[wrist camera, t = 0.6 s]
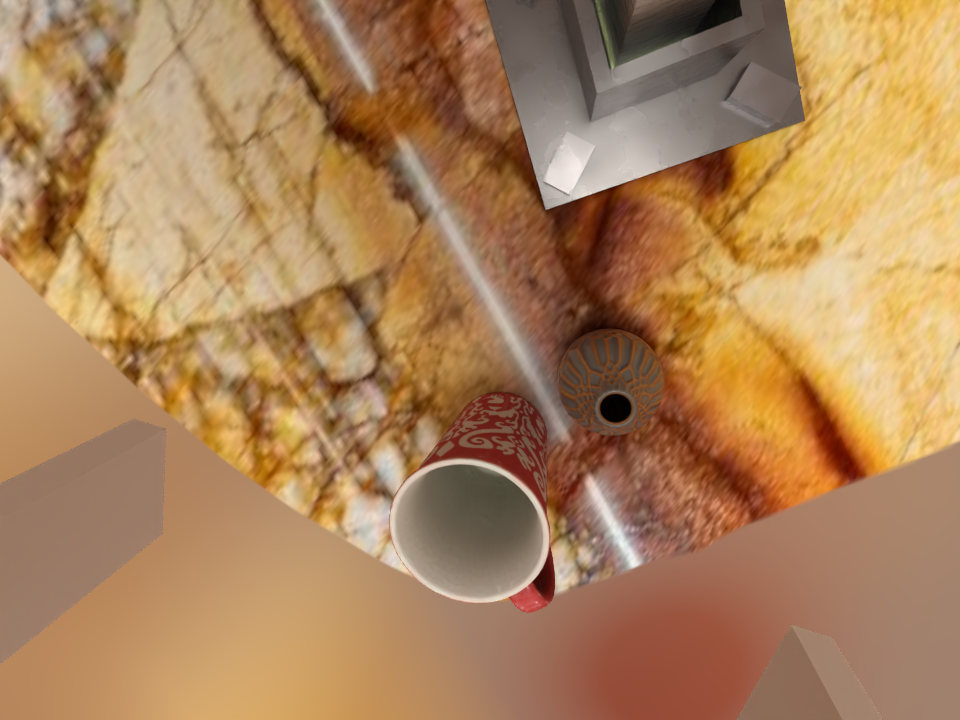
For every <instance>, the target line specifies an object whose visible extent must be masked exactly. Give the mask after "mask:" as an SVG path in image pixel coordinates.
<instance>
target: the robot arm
mask: <svg viewBox="0 0 960 720" xmlns="http://www.w3.org/2000/svg"><path fill="white" fill-rule="evenodd" d="M165 445H166V429H165V428H161V427H158V426H155V425H152V424H149V423H145V422H142V421H139V420H136V419H132V420H130V421H128V422H126V423H124V424H122V425H120V426H118V427H116V428H114V429H112V430H110V431H108V432H106V433H104V434H102V435H100V436H97V437H95V438H93V439H91V440H89V441H87V442H85V443H83V444H81V445H79V446H77V447H75V448H73V449H71V450H69V451H67V452H64V453H63V454H61V455H58V456H56V457H54V458H52V459H50V460H48V461H46V462H44V463H42V464H40V465H38V466H36V467H34V468H32V469H30V470H28V471H25V472H24V473H21V474H19V475H18V476H15V477H13V478H11V479H9V480H7V481H5V482H3V483H1V484H0V664H1V663H3V662H4V661H5V660H6V659H7V658H9V657H10V656H11V655H13V654H14V653H15V652H16V651H18V650H19V649H20V648H21V647H23V646H24V645H25V644H26V643H27V642H29V641H30V640H31V639H32V638H34V637H35V636H36V635H37V634H39V633H40V632H41V631H42V630H44V629H45V628H46V627H47V626H49V625H50V624H51V623H52V622H53V621H55V620H56V619H57V618H58V617H60V616H61V615H62V614H63V613H65V612H66V611H67V610H68V609H70V608H71V607H72V606H73V605H74V604H76V603H77V602H78V601H79V600H81V599H82V598H83V597H85V596H86V595H87V594H88V593H90V592H91V591H92V590H93V589H94V588H96V587H97V586H98V585H99V584H101V583H102V582H103V581H104V580H106V579H107V578H108V577H109V576H111V575H112V574H113V573H114V572H116V571H117V570H118V569H119V568H121V567H122V566H123V565H124V564H125V563H127V562H128V561H129V560H130V559H132V558H133V557H134V556H135V555H136V554H138V553H139V552H140V551H142V550H143V549H144V548H145V547H146V546H148V545H149V544H150V543H151V542H153V541H154V540H155V539H157V538H158V537H159V536H160V535H162V530H163V503H164V474H165ZM737 720H883V719H882V717H881V716H880V714H879V713H878V711H877V709H876V708H875V706H874V705H873V703H872V701H871V700H870V698H869V696H868V695H867V693H866V691H865V690H864V688H863V687H862V685H861V684H860V682H859V680H858V679H857V677H856V675H855V674H854V672H853V670H852V669H851V667H850V666H849V664H848V662H847V661H846V659H845V657H844V656H843V654H842V653H841V651H840V650H839V648H838V647H837V645H836V643H835V641H834V640H833V638H832V637H829V636H826V635H822V634H819V633H816V632H813V631H810V630H807V629H803V628H800V627H797V626H794V625H791V626H790V628H789V629H788V631H787V633H786V635H785V636H784V638H783V640H782V642H781V643H780V645H779V647H778V649H777V650H776V652H775V654H774V655H773V657H772V659H771V661H770V662H769V664H768V666H767V668H766V669H765V671H764V673H763V674H762V676H761V678H760V680H759V681H758V683H757V685H756V687H755V688H754V690H753V692H752V694H751V695H750V697H749V699H748V700H747V702H746V704H745V706H744V707H743V709H742V711H741V713H740V714H739V716H738V718H737Z"/></svg>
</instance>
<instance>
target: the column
mask: <svg viewBox="0 0 960 720" xmlns="http://www.w3.org/2000/svg"><path fill="white" fill-rule="evenodd" d="M714 2H715V0H593V6H594V10H595V14H596V18H597V22H598V26H599V30H600V34H601V38H602V42H603V46H604V50H605V54H606V58H607V62H608V66H609V70H610V69H612V68H615V67H617V66H619V65H622V64H624V63H627V62H629V61H632V60H634V59H637V58H639V57H642V56H644V55H647V54H649V53H652V52H654V51H657V50H659V49H662V48H664V47H667V46H669V45H672V44H674V43H677V42H679V41H682V40H684V39H686V38H689V37H691V36H692V34H693V33H694V31H695V30H696V28H697V27H698V25H699V24H700V22H701V21H702V19H703V18H704V16H705V15H706V13H707V12H708V10H709V9H710V8H711V6H712V5H713V3H714Z"/></svg>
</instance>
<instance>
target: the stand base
mask: <svg viewBox="0 0 960 720" xmlns="http://www.w3.org/2000/svg"><path fill="white" fill-rule="evenodd" d="M485 1H486V4H487V8H488V11H489V15H490V18H491V22H492V25H493V29H494V32H495V36H496V39H497V43H498V46H499V49H500V53H501V56H502V60H503V63H504V67H505V70H506V74H507V77H508V81H509V84H510V88H511V91H512V95H513V98H514V102H515V105H516V108H517V112H518V115H519V119H520V122H521V126H522V129H523V133H524V136H525V140H526V143H527V147H528V150H529V154H530V157H531V161H532V164H533V167H534V171H535V174H536V178H537V181H538V185H539V188H540V192H541V195H542V199H543V202H544V206H545V209H546V210H548V209H551V208H554V207H557V206H559V205H562V204H565V203H568V202H571V201H574V200H577V199H580V198H583V197H586V196H588V195H591V194H594V193H597V192H600V191H603V190H606V189H609V188H612V187H615V186H617V185H620V184H623V183H626V182H629V181H632V180H635V179H638V178H641V177H644V176H646V175H649V174H652V173H655V172H658V171H661V170H664V169H667V168H670V167H673V166H675V165H678V164H681V163H684V162H687V161H690V160H693V159H696V158H699V157H702V156H704V155H707V154H710V153H713V152H716V151H719V150H722V149H725V148H728V147H731V146H733V145H736V144H739V143H742V142H745V141H748V140H751V139H754V138H757V137H760V136H762V135H765V134H768V133H771V132H774V131H777V130H780V129H783V128H786V127H789V126H791V125H794V124H797V123H800V122H802V121H805V119H804V113H803V107H802V101H801V95H800V89H801V86H799V84H798V78H797V72H796V66H795V60H794V54H793V49H792V43H791V37H790V31H789V25H788V19H787V13H786V8H785V2H784V0H715V2H714V3H713V5H712V6H711V8H710V9H709V10H708V12H707V13H706V15H705V16H704V18H703V19H702V21H701V22H700V24H699V25H698V27H697V28H696V30H695V31H694V33H693V34H692V36H691V37H689V38H686V39H684V40H682V41H679V42H677V43H674V44H672V45H669V46H667V47H664V48H662V49H659V50H657V51H654V52H652V53H649V54H647V55H644V56H642V57H639V58H637V59H634V60H632V61H629V62H627V63H624V64H622V65H619V66H617V67H615V68H612V69H610V70H609V66H608V62H607V58H606V54H605V50H604V46H603V42H602V38H601V34H600V30H599V26H598V22H597V18H596V14H595V10H594V6H593V0H485Z"/></svg>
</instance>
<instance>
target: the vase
mask: <svg viewBox="0 0 960 720" xmlns="http://www.w3.org/2000/svg"><path fill="white" fill-rule="evenodd" d="M557 386H558V393H559V396H560V399H561V402H562V404H563V406H564V408H565V409H566V411H567V412H568V414H569V415H570V416H571V417H572V418H573V419H574V420H575V421H576V422H577V423H578V424H579V425H581V426H582V427H584V428H586V429H588V430H590V431H592V432H595V433H598V434H602V435H622V434H626V433H629V432H632V431H634V430H636V429H638V428H640V427H641V426H643V425H644V424H645V423H647V422H648V421H649V420H650V419H651V418H652V416H653V415H654V414H655V412H656V411H657V409H658V407H659V405H660V403H661V400H662V396H663V392H664V374H663V369H662V366H661V364H660V361H659V359H658V357H657V356H656V354H655V353H654V351H653V350H652V349H651V347H650V346H649V345H648V344H647V343H646V342H644V341H643V340H642V339H641V338H639V337H638V336H636V335H634V334H632V333H630V332H627V331H624V330H620V329H599V330H595V331H592V332H589V333H587V334H585V335H583V336H581V337H580V338H578V339H577V340H576V341H575V342H574V343H572V345H571V346H570V347H569V348H568V349H567V351H566V352H565V354H564V356H563V358H562V360H561V362H560V365H559V369H558V376H557Z"/></svg>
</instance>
